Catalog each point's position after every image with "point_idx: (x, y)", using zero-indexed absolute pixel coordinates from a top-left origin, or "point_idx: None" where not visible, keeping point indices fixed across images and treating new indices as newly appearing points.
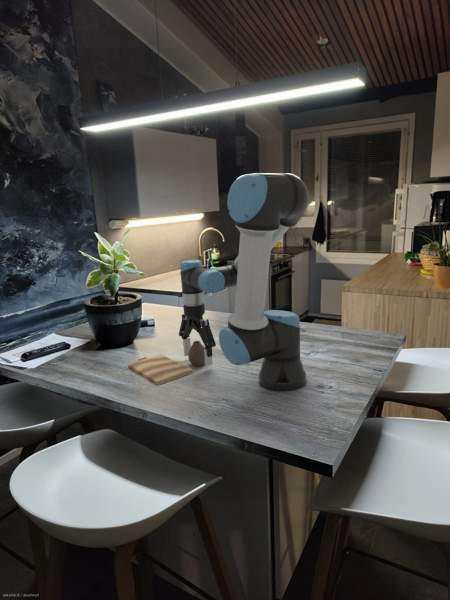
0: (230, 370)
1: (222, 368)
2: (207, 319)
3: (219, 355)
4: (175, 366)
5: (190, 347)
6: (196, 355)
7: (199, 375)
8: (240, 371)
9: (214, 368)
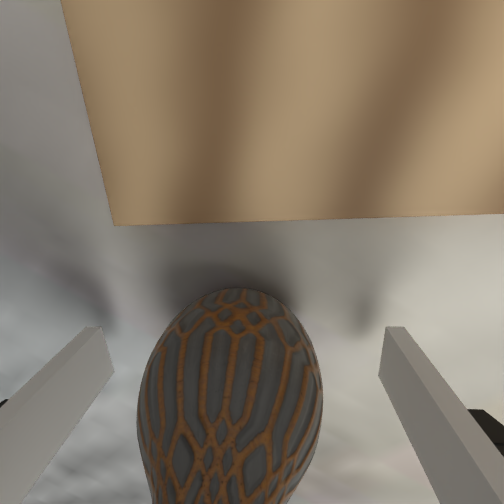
0: None
1: None
2: None
3: None
4: (274, 150)
5: (408, 433)
6: (152, 358)
7: (59, 230)
8: None
9: (116, 353)
